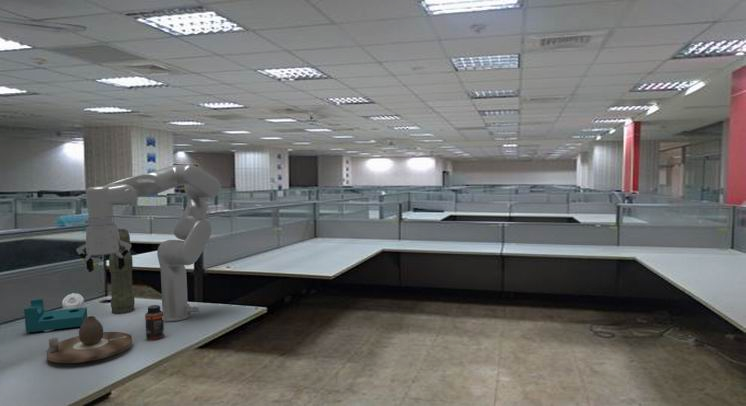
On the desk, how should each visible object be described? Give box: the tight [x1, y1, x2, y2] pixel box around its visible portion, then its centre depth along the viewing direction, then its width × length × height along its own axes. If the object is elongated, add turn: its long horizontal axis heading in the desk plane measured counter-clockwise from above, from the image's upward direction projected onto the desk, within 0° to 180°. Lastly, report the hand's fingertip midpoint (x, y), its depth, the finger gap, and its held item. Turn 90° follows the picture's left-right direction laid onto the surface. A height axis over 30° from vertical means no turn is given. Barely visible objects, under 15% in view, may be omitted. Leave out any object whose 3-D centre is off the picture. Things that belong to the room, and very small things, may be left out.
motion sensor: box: [61, 292, 85, 310], centre depth 204 cm, size 8×8×8 cm
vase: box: [78, 315, 104, 345], centre depth 155 cm, size 7×7×9 cm
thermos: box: [108, 228, 135, 315], centre depth 202 cm, size 9×12×35 cm
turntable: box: [45, 331, 133, 364], centre depth 155 cm, size 24×24×6 cm
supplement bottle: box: [144, 304, 165, 341], centre depth 169 cm, size 6×6×11 cm
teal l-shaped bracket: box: [23, 298, 88, 334], centre depth 182 cm, size 18×11×10 cm, turn 113°
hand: (106, 269), depth 168 cm, fingers open, 9 cm apart
